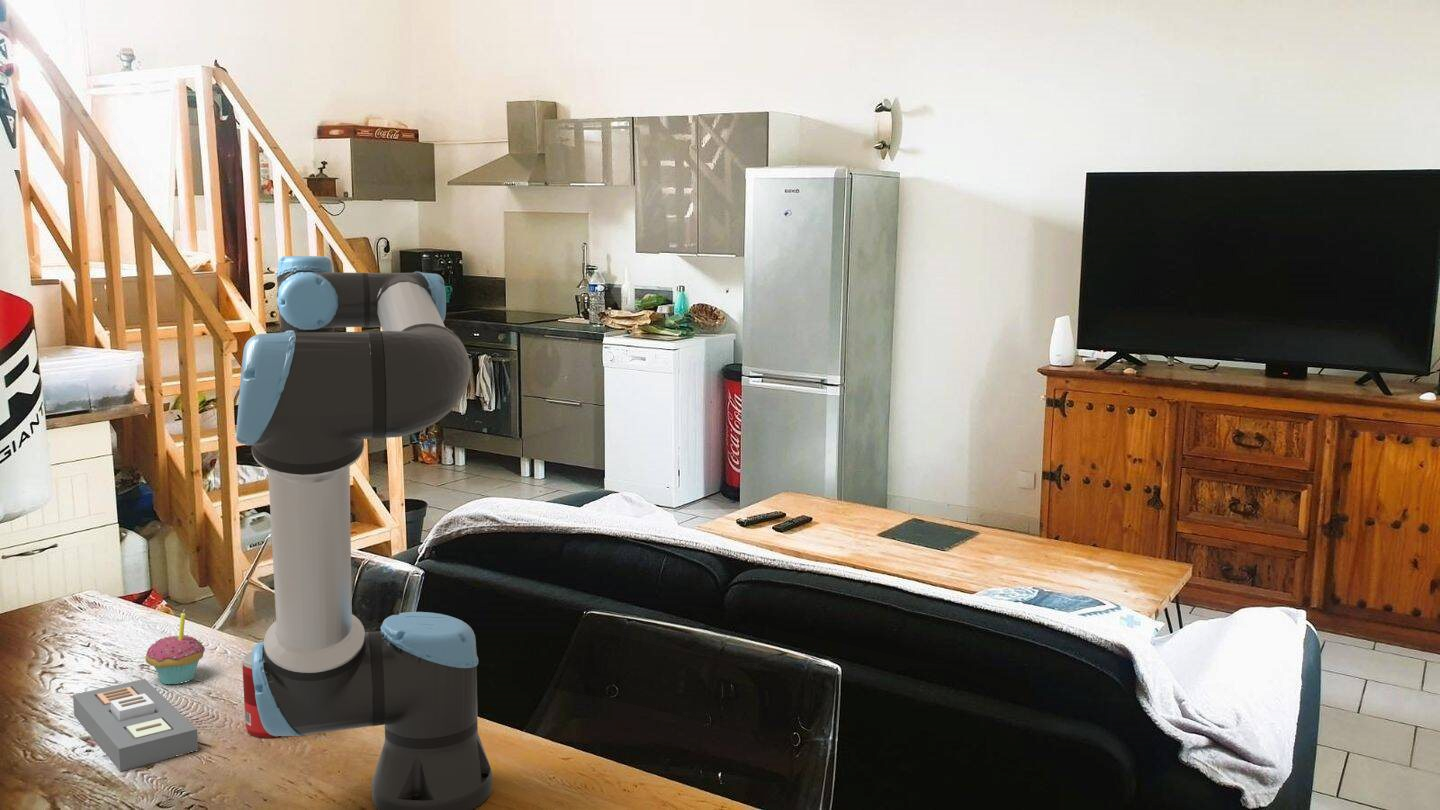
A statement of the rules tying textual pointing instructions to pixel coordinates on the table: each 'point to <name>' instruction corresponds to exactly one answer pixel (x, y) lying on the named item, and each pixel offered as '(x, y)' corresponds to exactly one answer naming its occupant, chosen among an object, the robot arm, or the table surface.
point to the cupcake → (175, 656)
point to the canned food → (251, 701)
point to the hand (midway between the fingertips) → (313, 521)
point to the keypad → (114, 733)
